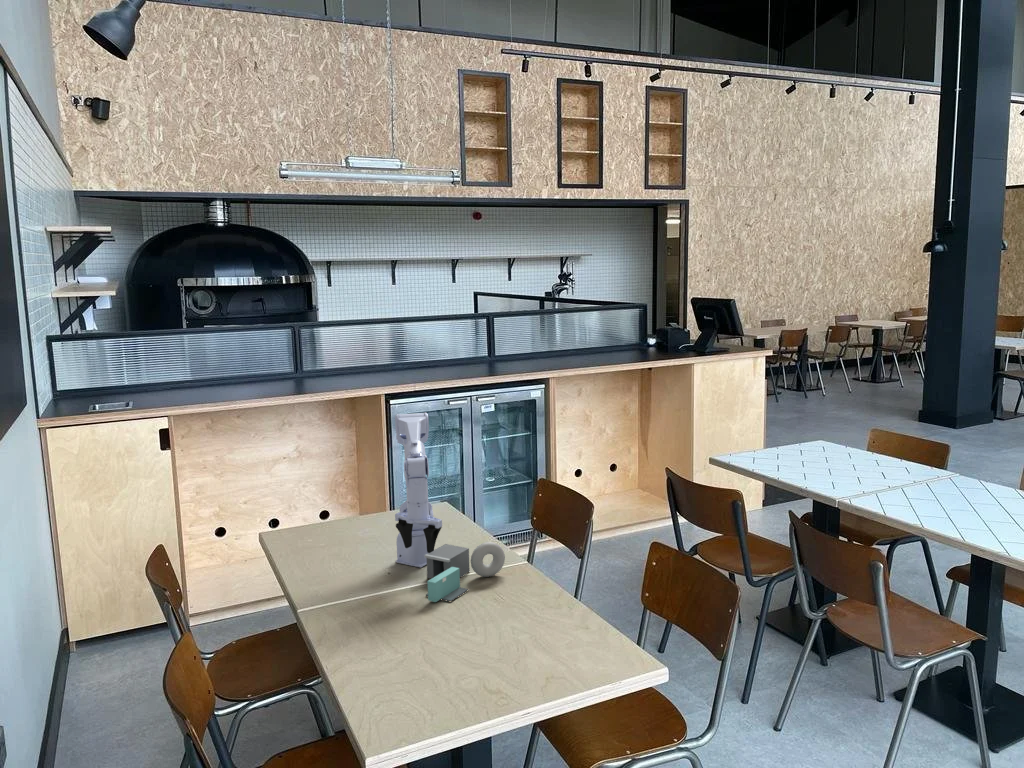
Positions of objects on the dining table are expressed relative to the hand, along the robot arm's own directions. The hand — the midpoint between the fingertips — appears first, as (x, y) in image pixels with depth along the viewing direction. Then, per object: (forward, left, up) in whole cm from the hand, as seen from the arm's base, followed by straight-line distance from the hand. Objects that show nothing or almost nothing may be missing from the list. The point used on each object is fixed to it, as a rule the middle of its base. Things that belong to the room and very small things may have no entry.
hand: (419, 549), depth 208 cm
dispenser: (+4, +7, -9) cm, 12 cm away
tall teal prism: (+11, -4, -9) cm, 15 cm away
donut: (+14, +12, -10) cm, 21 cm away
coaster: (+11, -3, -9) cm, 15 cm away
